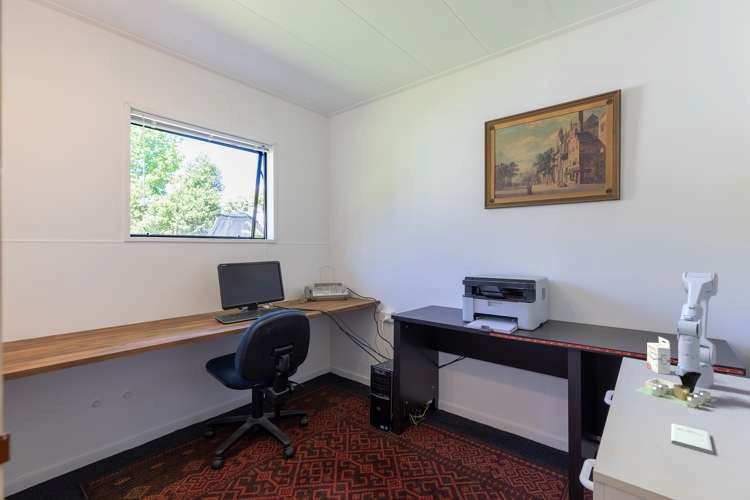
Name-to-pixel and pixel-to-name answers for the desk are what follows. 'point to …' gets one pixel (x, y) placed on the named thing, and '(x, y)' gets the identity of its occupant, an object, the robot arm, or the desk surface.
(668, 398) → the mat
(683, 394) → the nut
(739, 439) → the desk surface
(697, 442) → the external hard drive
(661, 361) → the ink cartridge box
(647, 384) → the tray
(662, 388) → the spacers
